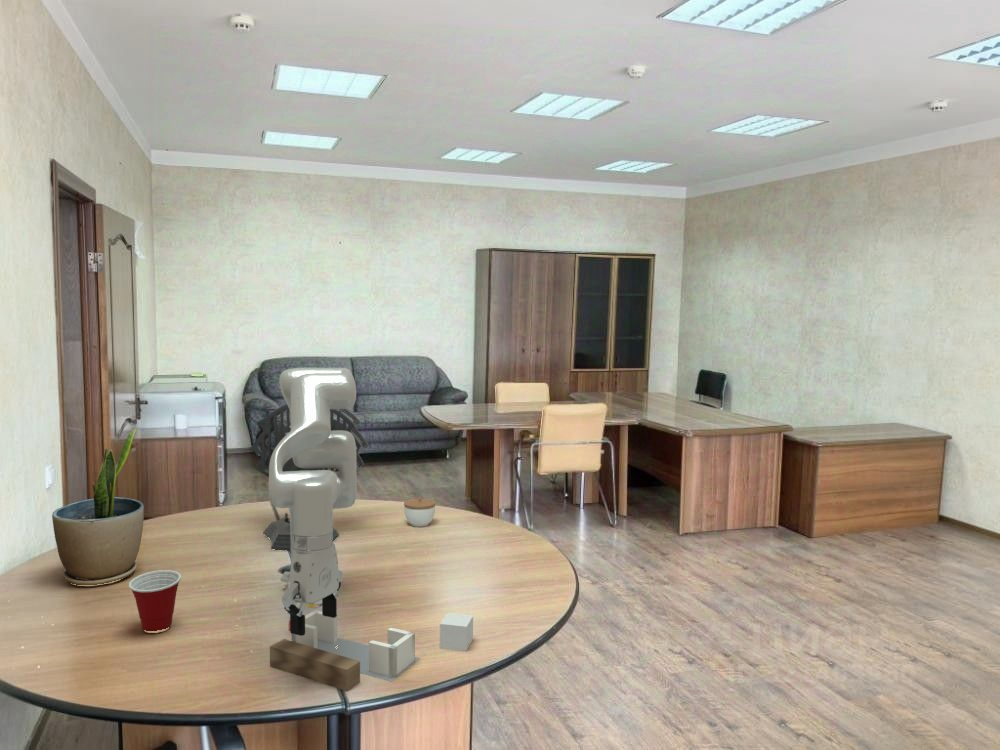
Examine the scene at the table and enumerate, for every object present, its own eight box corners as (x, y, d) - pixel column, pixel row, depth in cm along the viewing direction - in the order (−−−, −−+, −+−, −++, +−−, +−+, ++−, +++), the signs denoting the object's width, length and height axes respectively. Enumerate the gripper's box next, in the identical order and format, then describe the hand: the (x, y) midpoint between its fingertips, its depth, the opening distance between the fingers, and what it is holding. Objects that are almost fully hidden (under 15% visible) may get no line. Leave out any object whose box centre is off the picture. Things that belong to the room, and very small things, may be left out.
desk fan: (330, 514, 265) (330, 389, 261) (382, 536, 241) (382, 398, 237) (239, 532, 243) (237, 395, 238) (286, 558, 218) (285, 407, 214)
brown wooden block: (270, 669, 152) (269, 646, 152) (284, 661, 156) (283, 638, 156) (346, 694, 143) (346, 669, 143) (360, 685, 147) (360, 661, 146)
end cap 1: (291, 650, 160) (291, 623, 159) (315, 635, 167) (315, 609, 166) (313, 656, 157) (313, 628, 157) (337, 641, 164) (337, 615, 164)
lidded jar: (424, 518, 263) (424, 492, 262) (441, 525, 254) (441, 498, 253) (398, 523, 256) (398, 496, 255) (415, 530, 247) (415, 503, 247)
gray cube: (439, 650, 162) (439, 623, 161) (447, 638, 168) (447, 612, 167) (466, 653, 161) (466, 626, 160) (473, 641, 166) (473, 615, 166)
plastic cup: (119, 637, 165) (117, 585, 164) (148, 617, 176) (147, 568, 175) (164, 641, 164) (163, 588, 163) (191, 621, 174) (190, 571, 173)
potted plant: (99, 597, 188) (94, 441, 184) (36, 585, 195) (29, 434, 191) (162, 569, 208) (158, 428, 204) (102, 560, 215) (98, 423, 211)
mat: (285, 654, 158) (285, 652, 158) (318, 634, 168) (318, 632, 168) (391, 683, 147) (391, 681, 147) (420, 659, 157) (420, 658, 157)
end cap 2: (414, 660, 156) (414, 633, 155) (393, 677, 149) (393, 648, 148) (390, 654, 158) (390, 627, 158) (368, 670, 151) (368, 642, 151)
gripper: (299, 555, 138) (300, 645, 139) (355, 532, 153) (355, 613, 154) (267, 550, 141) (268, 637, 142) (325, 527, 156) (326, 607, 157)
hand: (314, 624), depth 148 cm, fingers open, 9 cm apart
